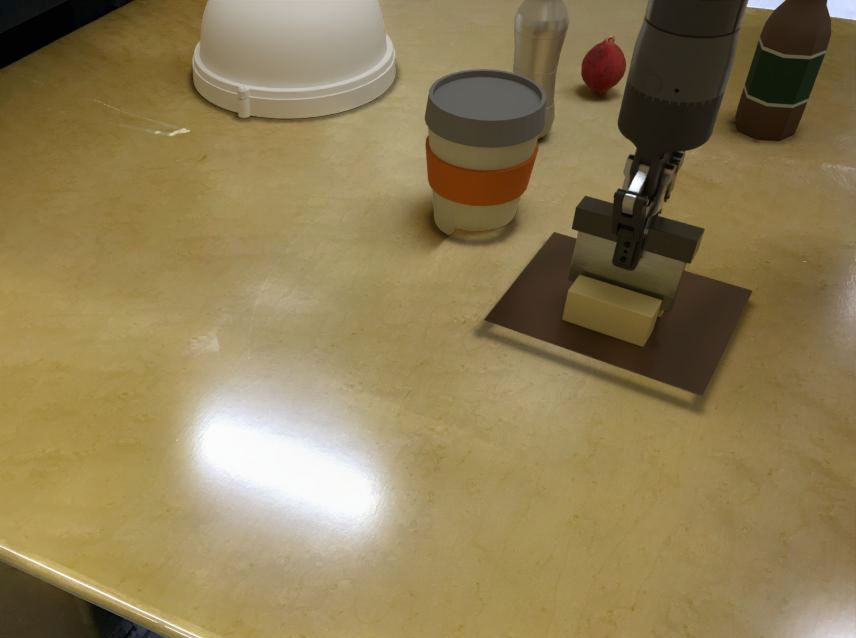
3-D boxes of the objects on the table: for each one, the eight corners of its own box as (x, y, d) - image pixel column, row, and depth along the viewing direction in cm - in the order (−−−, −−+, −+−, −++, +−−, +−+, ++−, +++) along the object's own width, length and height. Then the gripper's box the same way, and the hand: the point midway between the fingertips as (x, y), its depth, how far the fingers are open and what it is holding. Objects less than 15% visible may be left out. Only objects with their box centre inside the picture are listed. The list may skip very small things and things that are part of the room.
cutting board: (748, 302, 91) (753, 290, 90) (697, 408, 80) (702, 396, 79) (551, 242, 99) (553, 231, 98) (481, 331, 88) (483, 319, 87)
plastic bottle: (525, 151, 114) (549, -13, 100) (489, 130, 118) (508, -30, 104) (561, 137, 116) (591, -25, 103) (525, 117, 121) (549, -41, 107)
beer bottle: (721, 117, 119) (781, -81, 103) (775, 110, 120) (843, -86, 104) (752, 144, 114) (820, -60, 97) (808, 138, 115) (886, -66, 98)
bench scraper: (680, 304, 85) (705, 228, 79) (672, 318, 83) (697, 241, 78) (569, 269, 89) (585, 195, 83) (560, 281, 88) (575, 207, 82)
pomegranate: (599, 106, 122) (611, 48, 117) (567, 92, 126) (578, 34, 120) (628, 94, 125) (641, 37, 119) (596, 80, 128) (607, 24, 123)
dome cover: (257, 19, 148) (251, -74, 138) (428, 47, 138) (434, -51, 128) (149, 98, 128) (133, -4, 118) (340, 138, 118) (340, 30, 108)
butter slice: (653, 330, 86) (662, 299, 83) (643, 347, 84) (652, 317, 81) (573, 303, 89) (579, 274, 86) (561, 320, 87) (568, 290, 84)
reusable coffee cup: (511, 260, 97) (530, 131, 86) (402, 235, 101) (408, 109, 90) (541, 203, 105) (562, 78, 95) (439, 182, 109) (448, 60, 99)
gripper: (700, 124, 66) (645, 311, 78) (747, 55, 74) (691, 234, 86) (600, 101, 69) (562, 284, 81) (657, 38, 77) (615, 212, 89)
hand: (629, 257), depth 83 cm, fingers closed on bench scraper, 2 cm apart
